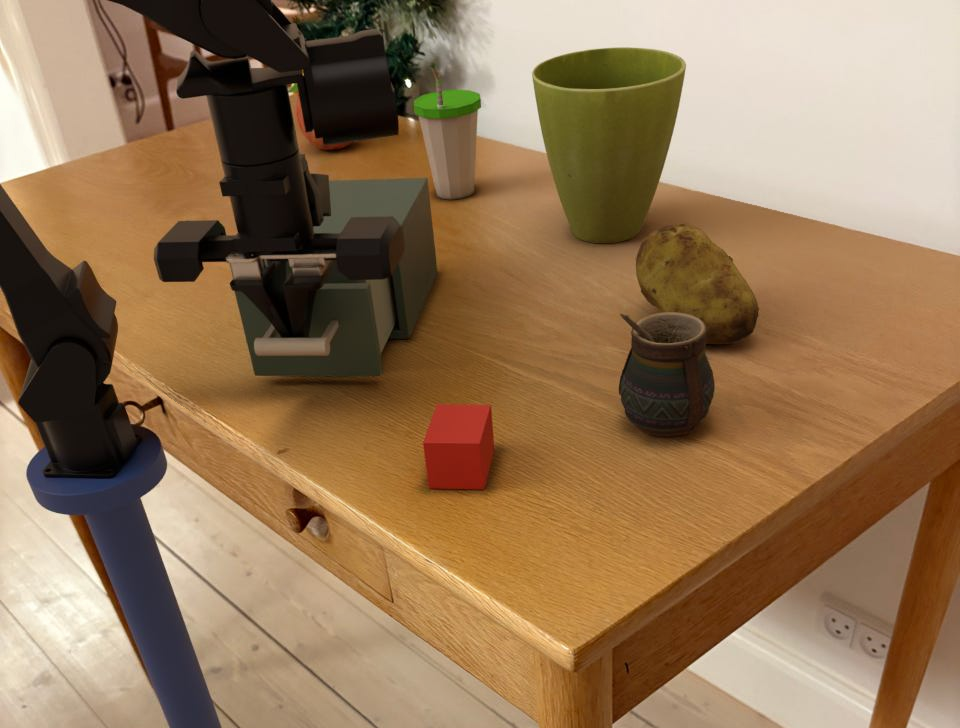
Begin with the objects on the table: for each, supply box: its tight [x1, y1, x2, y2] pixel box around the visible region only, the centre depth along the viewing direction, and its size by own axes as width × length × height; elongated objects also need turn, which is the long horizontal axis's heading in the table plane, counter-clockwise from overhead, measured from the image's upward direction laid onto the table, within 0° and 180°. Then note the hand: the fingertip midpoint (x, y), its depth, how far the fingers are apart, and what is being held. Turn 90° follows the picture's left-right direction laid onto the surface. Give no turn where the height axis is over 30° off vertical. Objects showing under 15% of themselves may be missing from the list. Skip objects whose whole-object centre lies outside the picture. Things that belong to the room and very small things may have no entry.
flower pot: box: [531, 46, 687, 244], centre depth 107 cm, size 15×15×16 cm
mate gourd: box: [618, 312, 716, 437], centre depth 79 cm, size 7×8×10 cm
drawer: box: [234, 260, 398, 377], centre depth 91 cm, size 18×11×8 cm, turn 171°
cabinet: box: [313, 177, 439, 340], centre depth 100 cm, size 15×13×10 cm
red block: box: [422, 403, 496, 491], centre depth 78 cm, size 6×4×4 cm
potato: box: [635, 223, 760, 345], centre depth 92 cm, size 8×13×8 cm, turn 13°
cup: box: [413, 62, 482, 201], centre depth 120 cm, size 8×8×15 cm
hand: (300, 351), depth 87 cm, fingers closed, pressing on drawer
